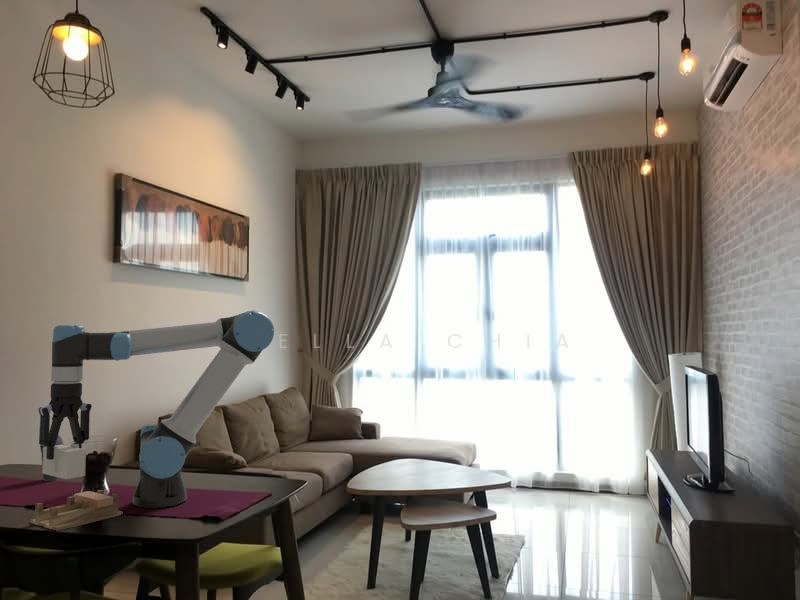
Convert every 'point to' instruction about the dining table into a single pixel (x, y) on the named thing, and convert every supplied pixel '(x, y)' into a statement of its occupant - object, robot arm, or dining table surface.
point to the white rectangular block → (66, 462)
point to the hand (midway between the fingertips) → (63, 469)
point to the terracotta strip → (94, 499)
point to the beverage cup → (45, 476)
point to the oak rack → (74, 513)
